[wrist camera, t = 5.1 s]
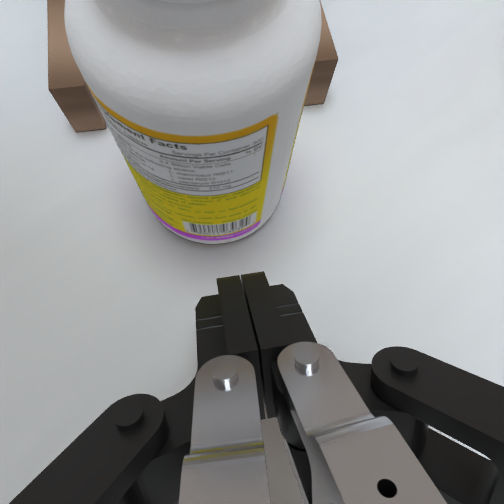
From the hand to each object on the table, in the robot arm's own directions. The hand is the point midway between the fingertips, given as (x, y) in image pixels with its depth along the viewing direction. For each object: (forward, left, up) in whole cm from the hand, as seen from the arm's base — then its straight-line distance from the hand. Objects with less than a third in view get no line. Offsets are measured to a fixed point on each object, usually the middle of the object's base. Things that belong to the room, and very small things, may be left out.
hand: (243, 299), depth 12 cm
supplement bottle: (-5, +5, -5) cm, 8 cm away
